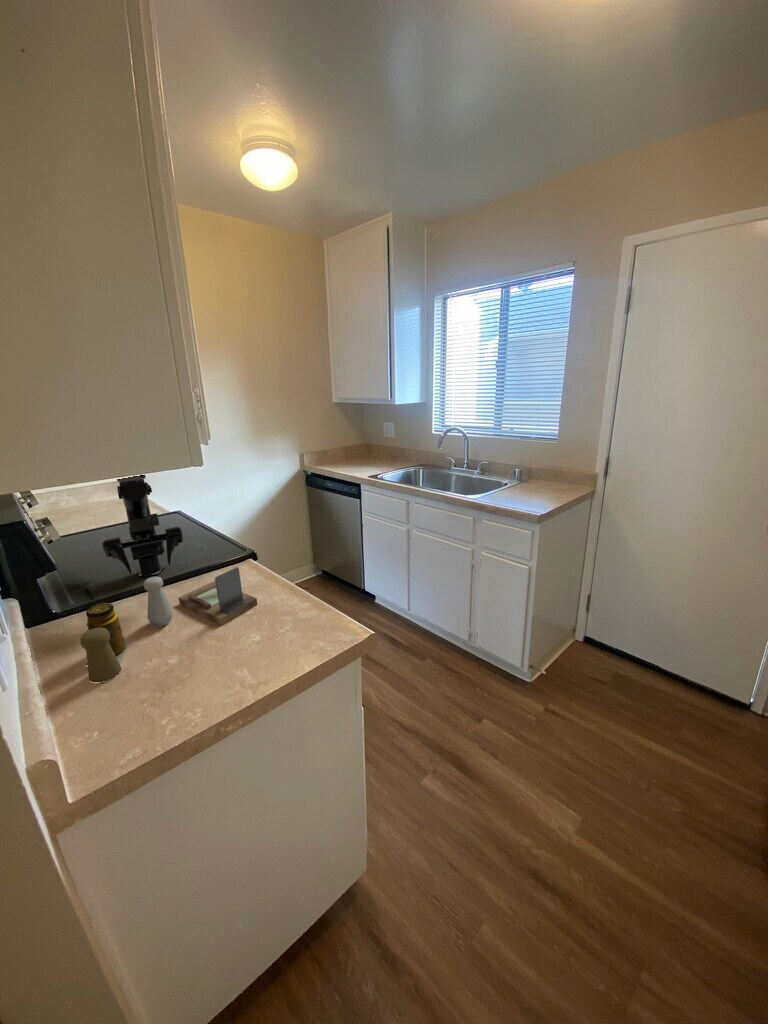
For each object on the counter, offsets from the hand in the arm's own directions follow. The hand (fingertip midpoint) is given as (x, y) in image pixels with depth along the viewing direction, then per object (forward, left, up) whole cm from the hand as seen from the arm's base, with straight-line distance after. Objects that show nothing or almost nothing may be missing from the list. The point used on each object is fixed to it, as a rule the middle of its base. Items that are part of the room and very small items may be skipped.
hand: (150, 569), depth 110 cm
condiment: (+18, -4, -13) cm, 23 cm away
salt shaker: (+6, +3, -13) cm, 15 cm away
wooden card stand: (-2, +16, -13) cm, 20 cm away
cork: (+25, -1, -13) cm, 28 cm away
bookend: (+3, +22, -11) cm, 24 cm away
